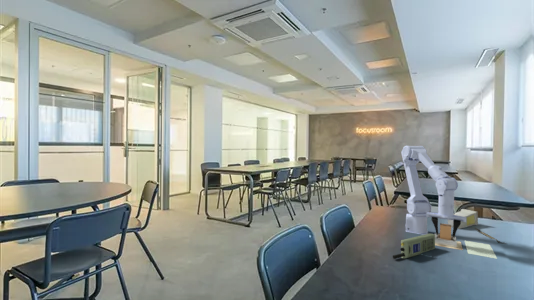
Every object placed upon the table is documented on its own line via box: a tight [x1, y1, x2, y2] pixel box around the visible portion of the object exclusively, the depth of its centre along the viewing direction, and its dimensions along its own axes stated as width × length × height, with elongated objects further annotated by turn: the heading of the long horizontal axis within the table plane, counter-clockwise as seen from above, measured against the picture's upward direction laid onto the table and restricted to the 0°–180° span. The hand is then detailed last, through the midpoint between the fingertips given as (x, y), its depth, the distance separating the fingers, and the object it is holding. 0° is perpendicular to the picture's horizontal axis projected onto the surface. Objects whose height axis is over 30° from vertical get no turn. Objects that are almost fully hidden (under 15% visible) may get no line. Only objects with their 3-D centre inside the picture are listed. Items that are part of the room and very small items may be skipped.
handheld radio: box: [392, 233, 436, 260], centre depth 108 cm, size 7×3×25 cm
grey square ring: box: [434, 232, 457, 248], centre depth 120 cm, size 8×8×2 cm
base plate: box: [435, 241, 464, 251], centre depth 120 cm, size 12×12×1 cm
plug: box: [439, 222, 452, 240], centre depth 120 cm, size 4×4×8 cm
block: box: [447, 208, 479, 230], centre depth 150 cm, size 19×8×8 cm, turn 118°
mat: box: [464, 240, 498, 260], centre depth 113 cm, size 9×18×1 cm, turn 147°
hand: (445, 235), depth 120 cm, fingers open, 5 cm apart
